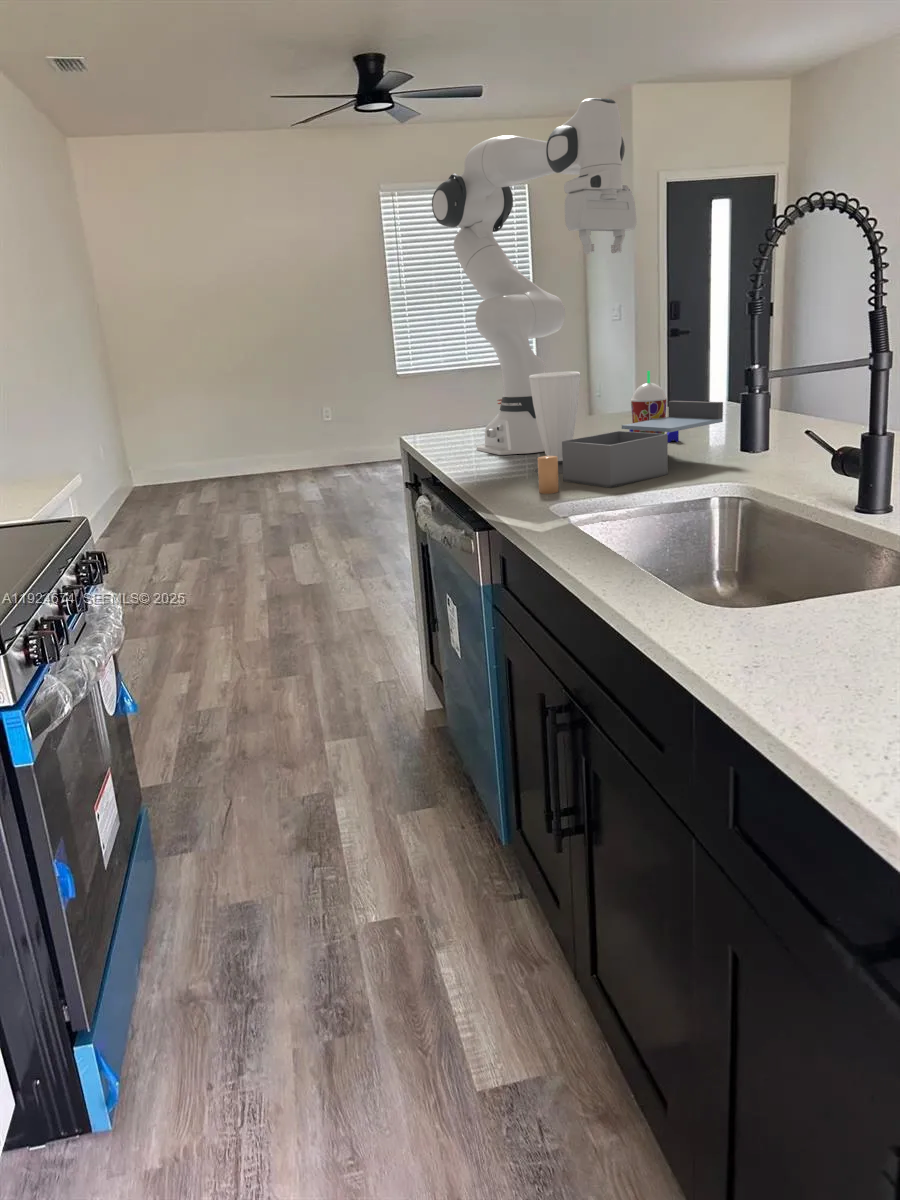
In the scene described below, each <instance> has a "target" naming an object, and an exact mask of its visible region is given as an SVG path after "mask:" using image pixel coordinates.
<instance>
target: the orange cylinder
mask: <svg viewBox="0 0 900 1200" xmlns="http://www.w3.org/2000/svg"><path fill="white" fill-rule="evenodd" d="M537 468H538V474H537V475H538V476H537V477H538V493H539V494H542V495H545V494H546V495H547V494H549V495H551V494H556V493H559V491H560V489H559V487H560V486H559V474H558V457H557V456H546V455H542V456H539V457H537Z"/></svg>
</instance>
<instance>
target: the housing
mask: <svg viewBox="0 0 900 1200" xmlns="http://www.w3.org/2000/svg"><path fill="white" fill-rule="evenodd" d="M668 443H669V442H668V434H667V433H665V434H657V433H642V432H629V431H627V430H626V431H624V430H623V431H622V430H616V431H612V432H606V433H605V432H604V433H601V434H595V435H589V436H583V437H578V438H573V439H572V440H567V441H562V458H563V473H562V477H563V478H562V479H563V482H567V483H573V484H581V485H587V486H588V485H589V486H595V487H601V488H602V487H604V488H610V489H612V488H615V487H616V488H617V487H621V486H624V485H628V484H633V483H637V482H641V481H646V480H650V479H653V478H654V479H655V478H659V477H662V476H667V475H668V468H669V467H668V466H669V465H668V460H669V459H668V458H669V457H668V456H669V454H668V452H669V450H668V448H669V447H668V445H669V444H668Z"/></svg>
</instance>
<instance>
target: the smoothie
mask: <svg viewBox="0 0 900 1200" xmlns="http://www.w3.org/2000/svg"><path fill="white" fill-rule="evenodd" d="M646 371H647V372H646V378H647V379H646V382H644V383H642V384H641V385H639V386H638V387H637V388H636V389H635V390H634V392H633V393H632V397H631V398H630V406H631V408H630V409H631V418H632V419H631V420H632V423H637V422H643V421H648V420H654V419H659V418H665V417H667V415H666V414H667V402H668V401H667V399H668V397H667V395H666V393H665V391H664V389H663V388H662V387H661V386H660V385H659V384H657V383H655V382H651V370H646ZM633 432H642V433H657V434H666V432H661V431H645V430H633Z"/></svg>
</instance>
